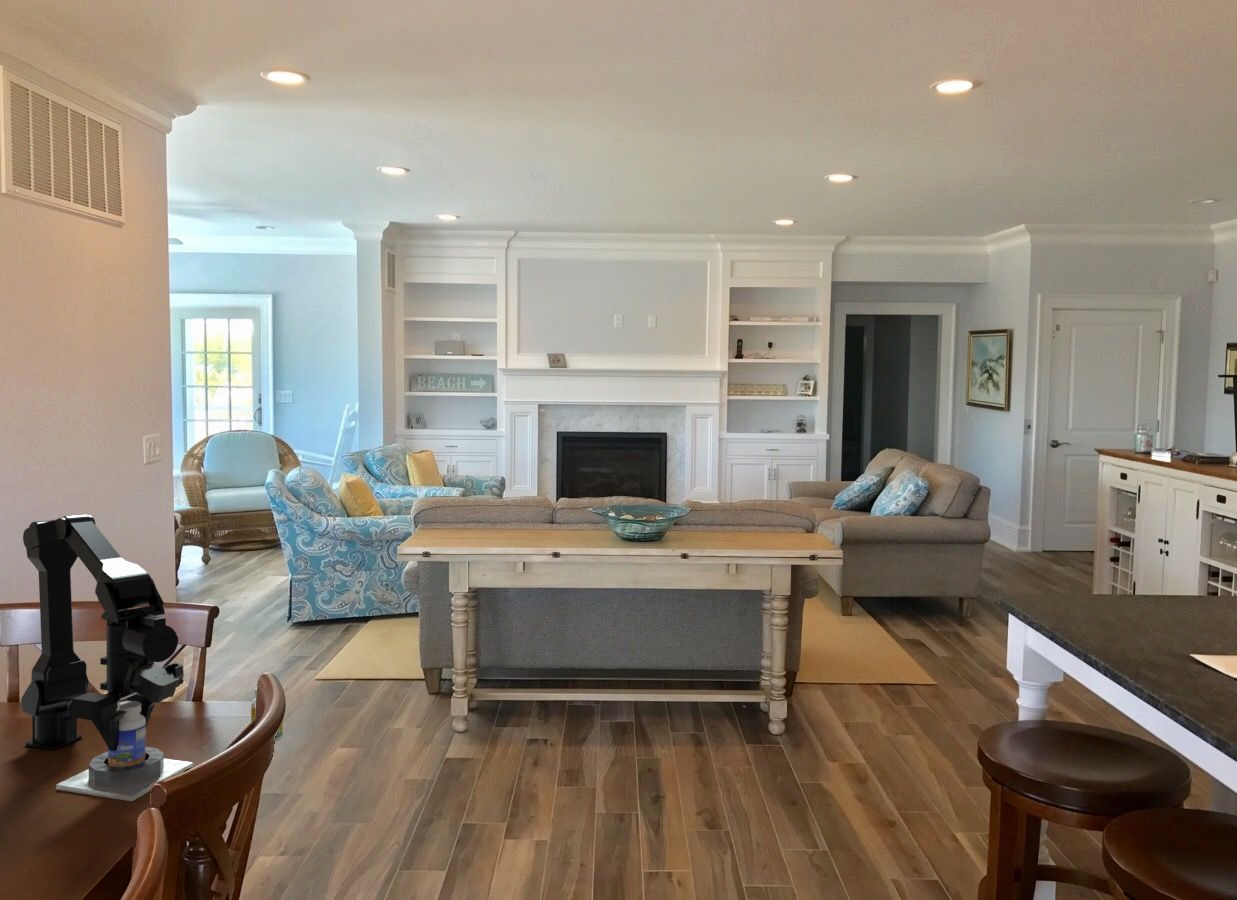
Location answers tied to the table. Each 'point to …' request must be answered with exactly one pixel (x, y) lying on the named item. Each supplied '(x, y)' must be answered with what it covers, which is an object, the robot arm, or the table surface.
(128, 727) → the pill bottle
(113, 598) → the robot arm
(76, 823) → the table surface
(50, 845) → the table surface
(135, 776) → the collar
